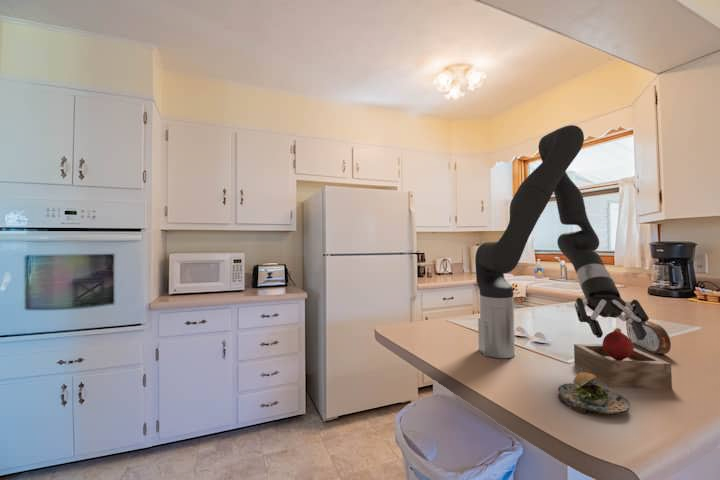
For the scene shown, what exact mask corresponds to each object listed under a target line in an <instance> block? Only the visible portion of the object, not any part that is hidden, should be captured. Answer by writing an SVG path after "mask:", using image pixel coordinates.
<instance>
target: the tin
mask: <svg viewBox="0 0 720 480" xmlns="http://www.w3.org/2000/svg"><path fill="white" fill-rule="evenodd" d="M625 325H626V326H625V327H626V336H627V337H628V338H629V339H630V340H631V342H632V344H633V345H635V344H636V345H635V346H637V347H639V348H642V349H644V350H646V351H648V352H649V353H652V354H656V355H657V354H660V355H661V354H662V355H666V354H668V353H669V352H670V350H671V346H672V343H671V339H670V336H669V334H668V332H667V331H666V329H665V328H664V327H663V326H661V325H660V324H657V323H655V322H652V321H649V320H648V321H647V322H646V323H645V324H644V325H642V326H643V328H644V330H645V331H646V336H645V338H644V339H643V340H638V339H637V337H636V335H635V333H634V331H633V329H632V325H630V324H629V323H627V322H626V324H625Z"/></svg>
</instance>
